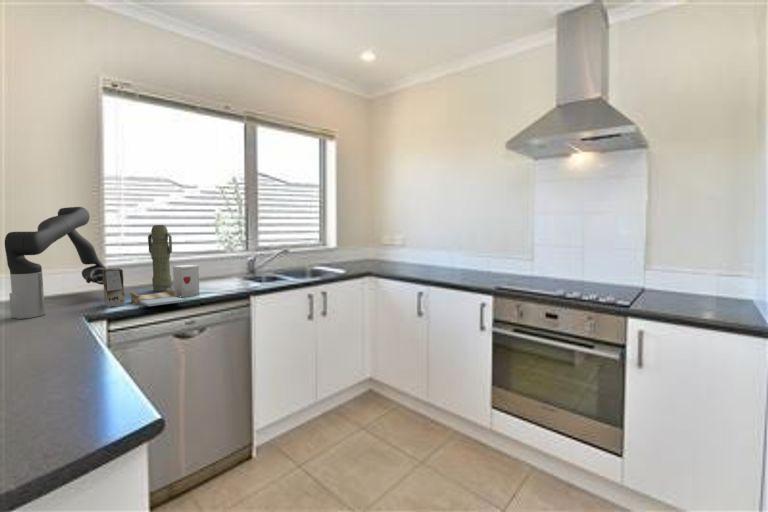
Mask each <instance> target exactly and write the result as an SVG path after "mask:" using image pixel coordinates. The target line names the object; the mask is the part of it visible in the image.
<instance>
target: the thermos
mask: <svg viewBox="0 0 768 512" xmlns="http://www.w3.org/2000/svg"><path fill="white" fill-rule="evenodd" d="M172 239H173V237H172V235H171V233H169V230H168V228H167V226H166V225H165V224H154V225H153V226H152V228H151V232H150V234H148V236H147V243H148V253H149V254H150V255H151V256H150V257H151V260H152V273H153V274H152V278H151V281H152V290H153V292H155V291H161V292H167V288H170V289H172V284H173V283H172V282H173V281H172V276H171V268H170V266H171V265H170V258H171V254H172V253H173V242H172ZM172 290H173V289H172Z"/></svg>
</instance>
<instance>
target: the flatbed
mask: <svg viewBox="0 0 768 512" xmlns="http://www.w3.org/2000/svg"><path fill="white" fill-rule="evenodd" d="M166 297H178V296H176V291H174V289H170V288H167V291H164V292H158V293H157V292H156V293H150V294H149V293H148V294H141V295H139V294H137V293H136V292H135V291H131V292H130V300H131V301H132V302H131V301H130V302H131V303H133V304H134V305H135V304H136V305H135V306H137V305H140V306H145V305H144V304H141V303H140V301H141V300H149V299H158V298H166Z"/></svg>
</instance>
